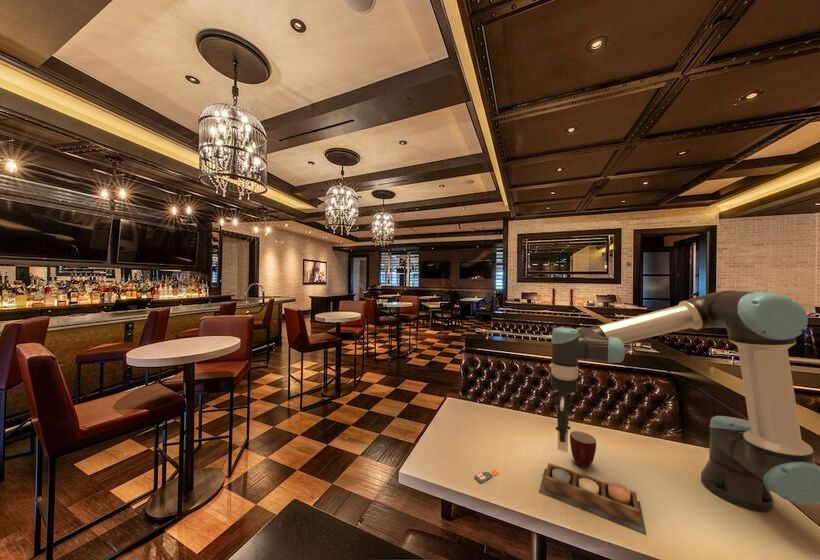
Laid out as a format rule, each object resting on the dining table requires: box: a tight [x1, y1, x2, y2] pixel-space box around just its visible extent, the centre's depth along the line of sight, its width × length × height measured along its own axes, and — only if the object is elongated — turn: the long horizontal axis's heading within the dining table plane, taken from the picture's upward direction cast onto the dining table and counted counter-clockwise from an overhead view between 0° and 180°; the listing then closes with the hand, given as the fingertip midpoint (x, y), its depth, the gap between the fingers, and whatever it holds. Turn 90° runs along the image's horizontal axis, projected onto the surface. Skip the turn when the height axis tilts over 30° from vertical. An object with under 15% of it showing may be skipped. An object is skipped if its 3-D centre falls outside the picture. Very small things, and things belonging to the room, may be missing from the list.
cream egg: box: [579, 478, 599, 495], centre depth 87 cm, size 5×5×3 cm
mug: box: [569, 430, 597, 469], centre depth 101 cm, size 11×8×10 cm
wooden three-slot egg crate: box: [538, 462, 647, 536], centre depth 87 cm, size 26×13×4 cm, turn 57°
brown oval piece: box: [608, 482, 630, 506], centre depth 83 cm, size 5×5×3 cm
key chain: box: [473, 469, 503, 485], centre depth 96 cm, size 13×4×2 cm, turn 120°
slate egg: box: [552, 469, 570, 484], centre depth 91 cm, size 5×5×3 cm
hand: (562, 449), depth 91 cm, fingers closed
